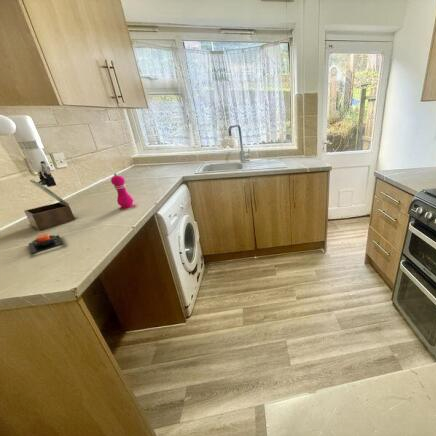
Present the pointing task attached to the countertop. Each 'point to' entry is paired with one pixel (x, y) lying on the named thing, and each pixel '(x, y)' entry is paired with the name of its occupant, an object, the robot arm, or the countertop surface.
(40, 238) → the lock button
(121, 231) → the countertop surface
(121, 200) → the pepper mill
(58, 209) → the brown open box
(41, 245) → the lock base
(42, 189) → the frame lid
